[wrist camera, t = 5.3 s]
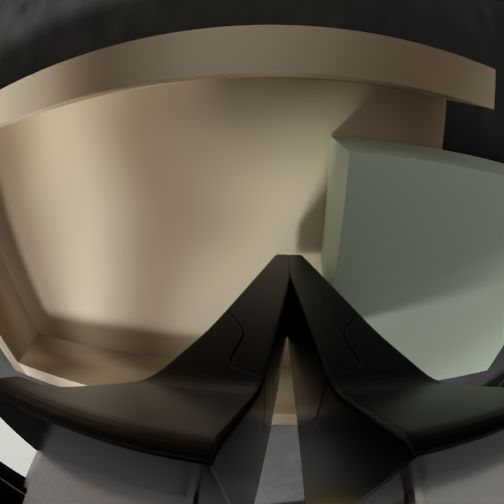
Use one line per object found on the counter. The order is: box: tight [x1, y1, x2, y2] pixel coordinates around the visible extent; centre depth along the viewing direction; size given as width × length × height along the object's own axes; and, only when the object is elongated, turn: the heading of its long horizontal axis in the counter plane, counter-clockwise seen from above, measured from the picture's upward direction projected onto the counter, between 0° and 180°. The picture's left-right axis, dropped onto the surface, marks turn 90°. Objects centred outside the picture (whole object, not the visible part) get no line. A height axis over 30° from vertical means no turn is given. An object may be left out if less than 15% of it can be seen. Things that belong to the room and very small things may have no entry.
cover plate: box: [319, 136, 504, 380], centre depth 8 cm, size 8×8×2 cm
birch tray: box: [0, 25, 495, 425], centre depth 9 cm, size 19×13×3 cm
